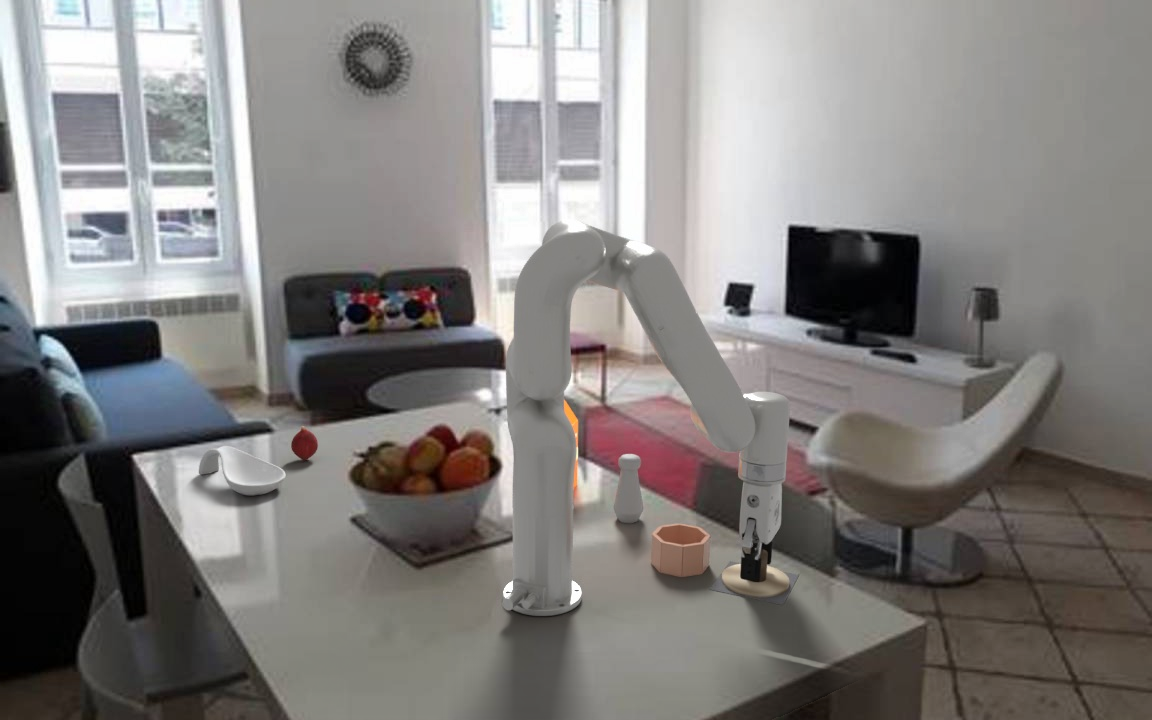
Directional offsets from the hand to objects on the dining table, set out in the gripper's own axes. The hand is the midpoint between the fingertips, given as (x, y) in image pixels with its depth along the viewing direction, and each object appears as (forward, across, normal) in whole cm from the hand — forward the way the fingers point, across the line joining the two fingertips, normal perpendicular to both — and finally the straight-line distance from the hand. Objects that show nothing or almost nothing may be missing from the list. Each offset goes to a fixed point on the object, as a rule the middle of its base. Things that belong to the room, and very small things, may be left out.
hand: (755, 570), depth 156 cm
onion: (+3, +16, +108) cm, 110 cm away
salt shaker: (+3, +17, +30) cm, 34 cm away
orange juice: (+3, +25, +50) cm, 56 cm away
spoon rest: (+3, -3, +110) cm, 110 cm away
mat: (+3, 0, 0) cm, 3 cm away
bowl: (+3, +1, +14) cm, 14 cm away
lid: (+2, 0, 0) cm, 2 cm away
